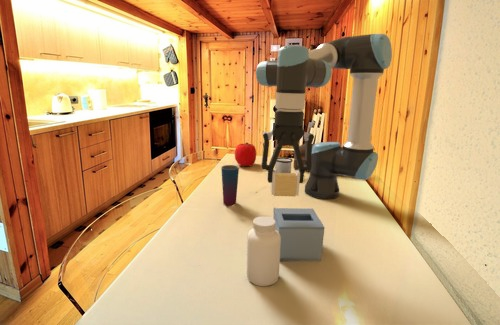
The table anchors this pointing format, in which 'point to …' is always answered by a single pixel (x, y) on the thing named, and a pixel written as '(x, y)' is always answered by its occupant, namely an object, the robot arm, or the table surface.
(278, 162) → the mug
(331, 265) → the table surface
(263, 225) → the pill bottle
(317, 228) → the grey hollow box
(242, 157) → the tomato
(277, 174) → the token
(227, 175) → the cup
